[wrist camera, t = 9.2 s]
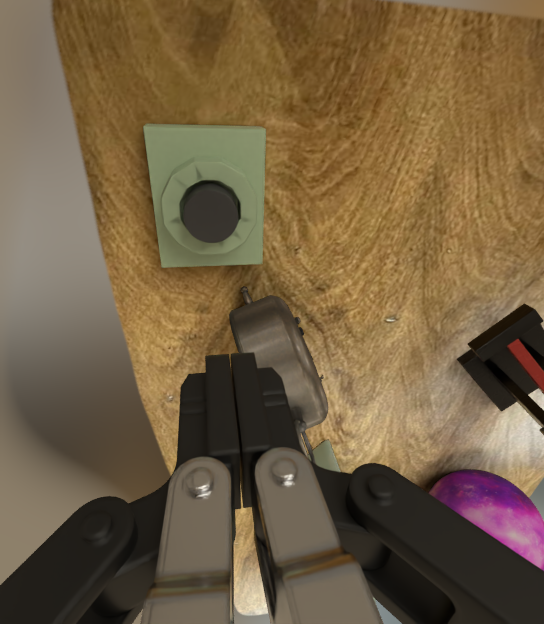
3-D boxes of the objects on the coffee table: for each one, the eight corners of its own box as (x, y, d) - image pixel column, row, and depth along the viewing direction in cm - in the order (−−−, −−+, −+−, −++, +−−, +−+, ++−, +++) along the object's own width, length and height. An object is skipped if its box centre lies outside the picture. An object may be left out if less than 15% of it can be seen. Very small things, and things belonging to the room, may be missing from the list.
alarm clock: (221, 282, 33) (237, 429, 19) (278, 261, 33) (336, 393, 19) (261, 368, 39) (294, 525, 25) (310, 350, 39) (370, 499, 25)
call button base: (145, 123, 25) (139, 130, 22) (262, 126, 27) (270, 132, 24) (163, 259, 31) (159, 278, 28) (259, 255, 32) (265, 274, 29)
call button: (181, 183, 25) (180, 190, 23) (235, 183, 25) (238, 189, 24) (186, 234, 27) (185, 243, 25) (236, 233, 27) (238, 242, 26)
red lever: (464, 341, 36) (477, 353, 33) (521, 301, 34) (538, 311, 32) (543, 436, 40) (559, 452, 37) (598, 403, 38) (617, 418, 36)
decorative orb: (385, 490, 56) (439, 610, 43) (470, 433, 52) (557, 548, 39) (434, 517, 63) (492, 626, 50) (513, 469, 59) (597, 576, 46)
